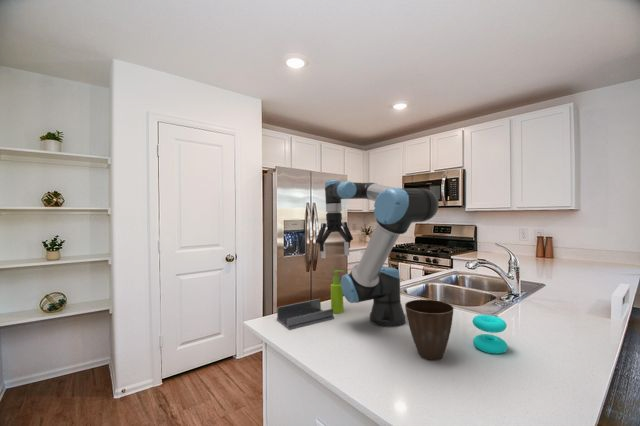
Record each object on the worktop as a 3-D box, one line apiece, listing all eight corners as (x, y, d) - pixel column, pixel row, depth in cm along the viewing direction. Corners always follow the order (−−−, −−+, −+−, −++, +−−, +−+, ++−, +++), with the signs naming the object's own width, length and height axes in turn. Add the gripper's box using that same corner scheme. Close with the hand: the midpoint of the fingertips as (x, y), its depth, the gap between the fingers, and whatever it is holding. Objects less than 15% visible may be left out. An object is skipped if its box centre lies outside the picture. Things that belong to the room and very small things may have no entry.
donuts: (473, 322, 97) (471, 312, 106) (474, 352, 97) (472, 340, 106) (508, 325, 93) (503, 315, 102) (510, 357, 93) (504, 344, 102)
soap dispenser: (345, 313, 138) (343, 271, 138) (330, 313, 140) (329, 271, 140) (346, 309, 144) (344, 269, 144) (332, 309, 146) (331, 269, 146)
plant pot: (401, 345, 104) (400, 299, 104) (444, 344, 104) (442, 298, 104) (414, 366, 89) (412, 314, 89) (463, 365, 89) (461, 313, 89)
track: (334, 318, 132) (333, 305, 132) (289, 329, 121) (288, 315, 121) (318, 310, 145) (318, 298, 145) (276, 319, 134) (276, 306, 134)
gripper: (349, 212, 152) (351, 253, 151) (307, 213, 139) (309, 258, 138) (359, 211, 145) (360, 254, 145) (315, 213, 132) (317, 260, 132)
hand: (335, 256), depth 142 cm, fingers open, 13 cm apart
